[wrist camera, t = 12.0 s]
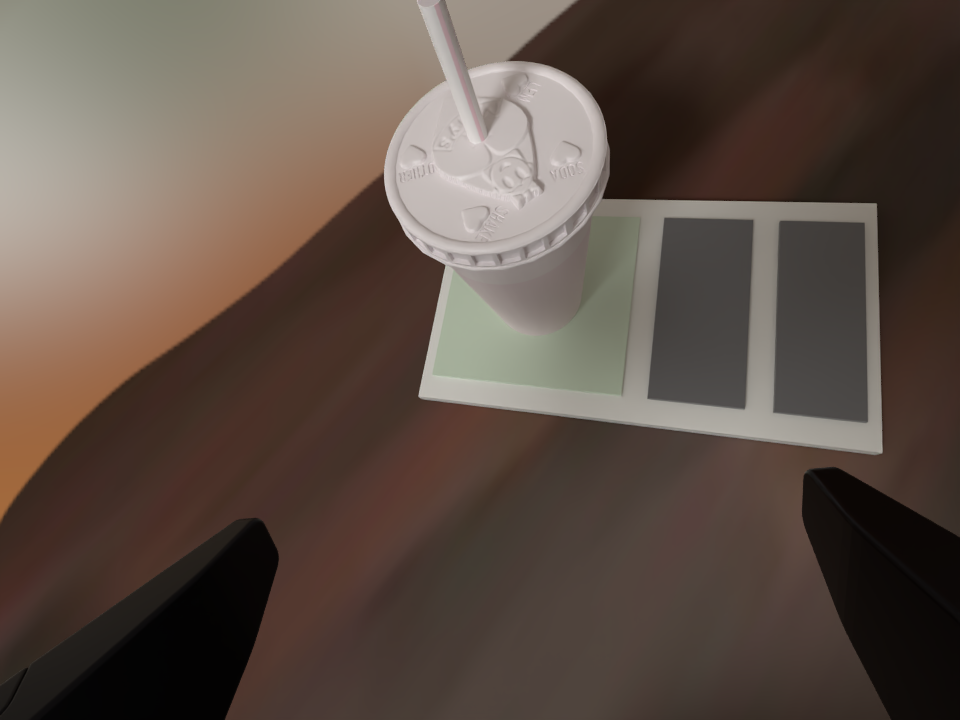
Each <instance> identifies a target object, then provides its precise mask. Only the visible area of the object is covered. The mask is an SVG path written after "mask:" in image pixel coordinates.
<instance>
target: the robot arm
mask: <svg viewBox="0 0 960 720" xmlns="http://www.w3.org/2000/svg"><path fill="white" fill-rule="evenodd" d="M802 517H803V522H804V526H805V529H806V532H807V534H808V537H809V540H810V542H811V545H812V547H813V550H814V553H815V555H816V558H817V560H818V563H819V566H820V568H821V571H822V573H823V576H824V579H825V581H826V584H827V586H828V589H829V592H830V594H831V597H832V599H833V602H834V605H835V607H836V610H837V612H838V615H839V617H840V620H841V622H842V624H843V627H844V629H845V631H846V633H847V635H848V637H849V639H850V641H851V643H852V645H853V647H854V649H855V651H856V653H857V655H858V657H859V659H860V660H861V662H862V664H863V666H864V668H865V670H866V672H867V674H868V676H869V678H870V680H871V682H872V684H873V685H874V687H875V689H876V691H877V693H878V695H879V697H880V699H881V701H882V703H883V705H884V707H885V709H886V710H887V712H888V714H889V716H890V718H891V720H960V537H958V536H957V535H955V534H953V533H951V532H950V531H948V530H946V529H944V528H943V527H941V526H939V525H937V524H936V523H934V522H932V521H931V520H929V519H927V518H925V517H924V516H922V515H920V514H918V513H917V512H915V511H913V510H911V509H910V508H908V507H906V506H904V505H903V504H901V503H899V502H897V501H896V500H894V499H892V498H890V497H889V496H887V495H885V494H883V493H882V492H880V491H878V490H876V489H875V488H873V487H871V486H869V485H868V484H866V483H864V482H862V481H861V480H859V479H857V478H855V477H854V476H852V475H850V474H848V473H847V472H845V471H843V470H841V469H839V468H836V467H826V468H815V469H809V470H807V471H806V472H805V474H804V479H803V501H802ZM278 561H279V555H278V551H277V548H276V546H275V544H274V542H273V540H272V538H271V536H270V534H269V532H268V530H267V528H266V526H265V524H264V522H263V521H262V520H260V519H258V518H248V519H239V520H236V521H234V522H233V523H231V524H230V525H229V526H227V527H226V528H224V529H223V530H221V531H220V532H219V533H217V534H216V535H214V536H213V537H211V538H210V539H209V540H207V541H206V542H204V543H203V544H201V545H200V546H199V547H197V548H196V549H194V550H193V551H191V552H190V553H189V554H187V555H186V556H184V557H183V558H181V559H180V560H179V561H177V562H176V563H174V564H173V565H171V566H170V567H169V568H167V569H166V570H164V571H163V572H161V573H160V574H159V575H157V576H156V577H154V578H153V579H151V580H150V581H149V582H147V583H146V584H144V585H143V586H141V587H140V588H139V589H137V590H136V591H134V592H133V593H131V594H130V595H129V596H127V597H126V598H124V599H123V600H121V601H120V602H119V603H117V604H116V605H114V606H113V607H111V608H110V609H109V610H107V611H106V612H104V613H103V614H101V615H100V616H99V617H97V618H96V619H94V620H93V621H91V622H90V623H89V624H87V625H86V626H84V627H83V628H81V629H80V630H79V631H77V632H76V633H74V634H73V635H71V636H70V637H69V638H67V639H66V640H64V641H63V642H61V643H60V644H59V645H57V646H56V647H54V648H53V649H51V650H50V651H49V652H47V653H46V654H44V655H43V656H41V657H40V658H39V659H37V660H36V661H34V662H33V663H31V665H30V666H29V668H24V669H23V670H21V671H20V672H18V673H17V674H16V675H14V676H13V677H11V678H10V679H8V680H7V681H6V682H4V683H3V684H1V685H0V720H225V718H226V715H227V713H228V710H229V708H230V705H231V703H232V700H233V698H234V695H235V693H236V690H237V688H238V685H239V683H240V680H241V678H242V675H243V673H244V670H245V668H246V665H247V663H248V660H249V657H250V655H251V652H252V649H253V647H254V644H255V641H256V637H257V634H258V631H259V628H260V624H261V621H262V618H263V614H264V611H265V608H266V604H267V601H268V597H269V594H270V591H271V587H272V584H273V580H274V577H275V574H276V570H277V567H278Z"/></svg>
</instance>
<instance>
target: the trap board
mask: <svg viewBox="0 0 960 720" xmlns="http://www.w3.org/2000/svg"><path fill="white" fill-rule="evenodd" d="M419 397H420V398H421V399H425V400H433V401H441V402H449V403H458V404H466V405H474V406H482V407H490V408H498V409H506V410H514V411H523V412H531V413H539V414H547V415H555V416H563V417H571V418H579V419H587V420H596V421H604V422H612V423H620V424H628V425H636V426H644V427H652V428H661V429H669V430H677V431H685V432H693V433H701V434H709V435H717V436H726V437H734V438H742V439H750V440H758V441H766V442H774V443H782V444H791V445H799V446H807V447H815V448H823V449H831V450H839V451H847V452H856V453H864V454H872V455H878V454H881V453H883V450H882V407H881V363H880V320H879V277H878V234H877V203H815V202H752V201H689V200H626V199H602V200H601V202H600V204H599V205H598V207H597V208H596V210H595V211H594V213H593V216H592V221H591V229H590V236H589V244H588V251H587V259H586V266H585V274H584V281H583V289H582V296H581V302H580V306H579V308H578V311H577V312H576V314H575V316H574V317H573V318H572V320H571V321H570V322H569V323H568V324H567V325H565V326H564V327H563V328H561V329H559V330H557V331H555V332H553V333H550V334H547V335H540V336H532V335H526V334H522V333H519V332H517V331H515V330H514V329H512V328H511V327H510V326H508V325H507V324H506V323H505V322H504V321H503V320H502V319H501V318H500V317H499V316H498V314H497V313H496V312H495V311H494V310H493V309H492V308H491V307H490V306H489V305H488V304H487V303H486V302H485V301H484V300H483V299H482V298H481V297H480V296H479V295H478V294H477V293H476V292H475V291H474V290H473V289H472V288H471V287H470V286H469V285H468V284H467V283H466V282H465V281H464V280H463V279H462V278H461V277H460V276H459V275H458V274H457V273H456V272H455V271H454V269H453V268H451V267H450V266H447V265H446V267H445V271H444V276H443V281H442V286H441V291H440V295H439V300H438V305H437V310H436V315H435V319H434V324H433V329H432V334H431V338H430V343H429V348H428V353H427V358H426V362H425V367H424V372H423V377H422V382H421V386H420V391H419Z"/></svg>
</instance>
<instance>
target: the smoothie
mask: <svg viewBox="0 0 960 720" xmlns="http://www.w3.org/2000/svg"><path fill="white" fill-rule="evenodd" d="M417 3H418V6H419V8H420V11H421V14H422V16H423V19H424V22H425V24H426V27H427V29H428V32H429V35H430V38H431V40H432V43H433V45H434V48H435V51H436V53H437V56H438V58H439V61H440V64H441V67H442V69H443V72H444V75H445V77H446V81H444V82H442V83H441V84H439V85H437V86H436V87H434V88H433V89H432V90H431V91H430V92H428V93H427V94H426V95H424V96H423V97H422V98H421V99H420V100H419V101H418V102H417V103H416V104H415V105H414V106H413V107H412V108H411V110H410V111H409V112H408V113H407V114H406V116H405V117H404V119H403V120H402V121H401V123H400V124H399V126H398V128H397V130H396V131H395V134H394V135H393V138H392V140H391V142H390V145H389V148H388V151H387V155H386V160H385V167H384V181H385V189H386V194H387V197H388V200H389V203H390V205H391V208H392V210H393V212H394V213H395V215H396V216H397V218H398V220H399V222H400V224H401V226H402V228H403V230H404V232H405V234H406V236H407V237H408V238H409V239H410V240H411V241H412V242H413V243H414V244H415V245H416V246H417V247H418V248H419V249H420V250H421V251H422V252H423V253H424V254H426V255H428V256H430V257H432V258H434V259H436V260H437V261H439V262H441V263H443V264H445V265H447V266H450V267H451V268H453V269H454V271H455V272H456V273H457V274H458V275H459V276H460V277H461V278H462V279H463V280H464V281H465V282H466V283H467V284H468V285H469V286H470V287H471V288H472V289H473V290H474V291H475V292H476V293H477V294H478V295H479V296H480V297H481V298H482V299H483V300H484V301H485V302H486V303H487V304H488V305H489V306H490V307H491V308H492V309H493V310H494V311H495V312H496V313H497V314H498V316H499V317H500V318H501V319H502V320H503V321H504V322H505V323H506V324H507V325H508V326H510V327H511V328H512V329H514V330H515V331H517V332H519V333H522V334H526V335H532V336H540V335H547V334H550V333H553V332H555V331H557V330H559V329H561V328H563V327H564V326H565V325H567V324H568V323H569V322H570V321H571V320H572V318H573V317H574V316H575V314H576V312H577V311H578V308H579V306H580V302H581V296H582V289H583V281H584V274H585V266H586V259H587V251H588V244H589V236H590V229H591V221H592V216H593V213H594V211H595V210H596V208H597V207H598V205H599V204H600V202H601V200H602V197H603V193H604V190H605V187H606V184H607V181H608V178H609V175H610V148H609V145H608V142H607V133H606V126H605V122H604V118H603V115H602V113H601V110H600V108H599V106H598V104H597V102H596V101H595V99H594V98H593V96H592V95H591V94H590V92H589V91H588V90H587V89H586V88H585V87H584V86H583V85H582V84H581V83H579V82H578V81H577V80H576V79H574V78H573V77H571V76H570V75H568V74H566V73H564V72H562V71H560V70H558V69H555V68H553V67H550V66H546V65H543V64H538V63H533V62H523V61H507V62H497V63H490V64H486V65H482V66H478V67H475V68H471V69H469V70H467V67H466V64H465V61H464V58H463V55H462V52H461V48H460V45H459V42H458V39H457V36H456V33H455V30H454V27H453V24H452V21H451V18H450V15H449V12H448V9H447V5H446V2H445V0H417Z"/></svg>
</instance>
